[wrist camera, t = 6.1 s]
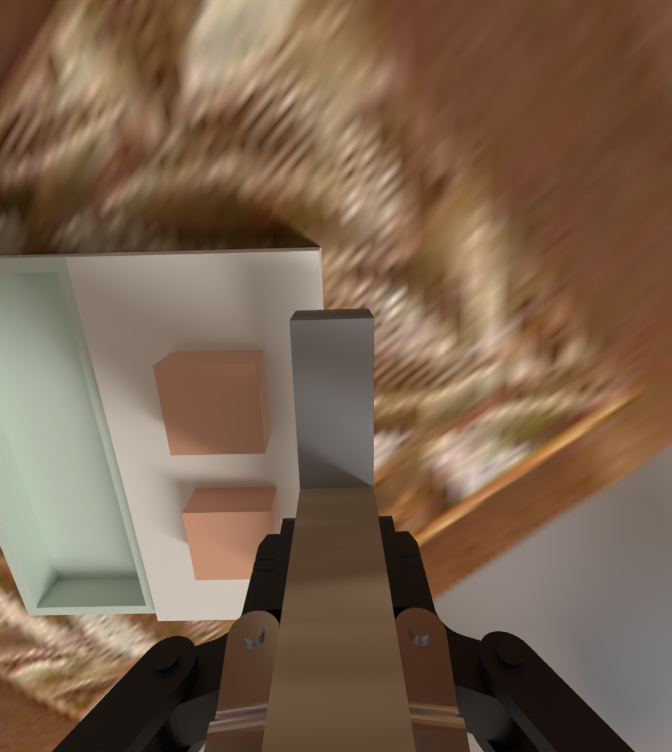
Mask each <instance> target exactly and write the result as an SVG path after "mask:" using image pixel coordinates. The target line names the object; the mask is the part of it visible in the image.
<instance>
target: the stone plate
mask: <svg viewBox="0 0 672 752" xmlns="http://www.w3.org/2000/svg"><path fill="white" fill-rule="evenodd" d="M65 259H66V263H67V267H68V271H69V275H70V279H71V283H72V287H73V290H74V294H75V298H76V302H77V306H78V310H79V314H80V318H81V322H82V326H83V330H84V333H85V337H86V341H87V345H88V349H89V353H90V357H91V361H92V365H93V369H94V373H95V376H96V380H97V384H98V388H99V392H100V396H101V400H102V404H103V408H104V412H105V415H106V419H107V423H108V427H109V431H110V435H111V439H112V443H113V447H114V451H115V455H116V458H117V462H118V466H119V470H120V474H121V478H122V482H123V486H124V490H125V494H126V497H127V501H128V505H129V509H130V513H131V517H132V521H133V525H134V529H135V533H136V537H137V540H138V544H139V548H140V552H141V556H142V560H143V564H144V568H145V572H146V576H147V580H148V583H149V587H150V591H151V595H152V599H153V603H154V607H155V611H156V615H157V619H158V621H183V620H237V619H238V618H240V617H241V614H242V611H243V606H244V602H245V598H246V594H247V590H248V586H249V582H250V579H239V580H195V575H194V570H193V565H192V560H191V555H190V550H189V545H188V540H187V535H186V530H185V525H184V520H183V515H182V513H183V511H184V509H185V507H186V505H187V503H188V501H189V499H190V498H191V496H192V494H193V492H194V490H195V488H240V487H277V496H278V507H279V517H280V528H281V525H282V520H283V518H296V512H297V505H298V498H299V491H300V483H299V467H298V451H297V435H296V419H295V403H294V387H293V371H292V355H291V339H290V323H289V320H290V319H291V317H292V316H293V314H294V312H295V311H296V310H323V285H322V257H321V247H305V248H267V249H228V250H190V251H152V252H113V253H99V254H90V255H81V256H73V257H65ZM245 350H264V356H265V367H266V378H267V388H268V399H269V410H270V421H271V431H272V433H271V436H270V439H269V443H268V446H267V449H266V452H265V453H263V454H217V455H170V450H169V445H168V440H167V435H166V430H165V425H164V420H163V415H162V410H161V405H160V400H159V395H158V390H157V385H156V380H155V375H154V370H153V366H154V365H155V364H156V363H157V362H159V361H160V360H161V359H163V358H164V357H165V356H167V355H168V354H169V353H171V352H203V351H245Z"/></svg>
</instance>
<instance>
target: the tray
mask: <svg viewBox="0 0 672 752" xmlns="http://www.w3.org/2000/svg"><path fill="white" fill-rule="evenodd" d="M90 254H99V253H75V254H37V255H0V546H1V549H2V551H3V553H4V556H5V558H6V561H7V563H8V565H9V568H10V570H11V573H12V575H13V578H14V580H15V582H16V585H17V587H18V590H19V592H20V594H21V597H22V599H23V602H24V604H25V607H26V609H27V611H28V614H29V615H79V614H134V613H156V611H155V607H154V603H153V599H152V595H151V591H150V587H149V583H148V580H147V576H146V572H145V568H144V564H143V560H142V556H141V552H140V548H139V544H138V540H137V537H136V533H135V529H134V525H133V521H132V517H131V513H130V509H129V505H128V501H127V497H126V494H125V490H124V486H123V482H122V478H121V474H120V470H119V466H118V462H117V458H116V455H115V451H114V447H113V443H112V439H111V435H110V431H109V427H108V423H107V419H106V415H105V412H104V408H103V404H102V400H101V396H100V392H99V388H98V384H97V380H96V376H95V373H94V369H93V365H92V361H91V357H90V353H89V349H88V345H87V341H86V337H85V333H84V330H83V326H82V322H81V318H80V314H79V310H78V306H77V302H76V298H75V294H74V290H73V287H72V283H71V279H70V275H69V271H68V267H67V263H66V259H65V257H73V256H81V255H90Z"/></svg>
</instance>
